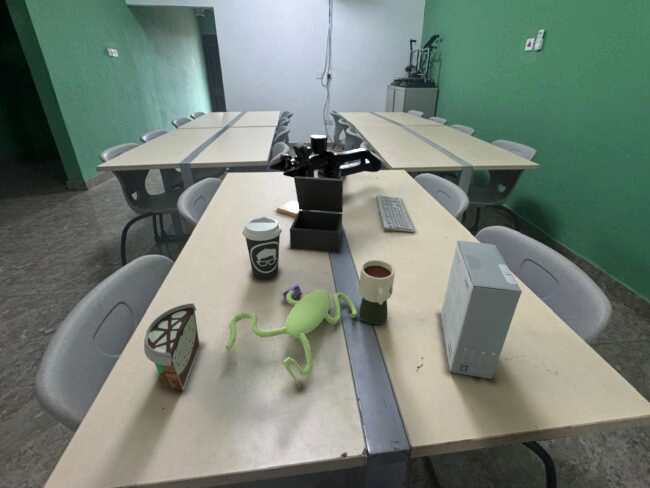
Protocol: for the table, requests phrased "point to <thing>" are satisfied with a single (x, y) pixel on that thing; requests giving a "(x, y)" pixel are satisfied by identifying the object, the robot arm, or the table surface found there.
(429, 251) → the table surface
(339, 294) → the figurine
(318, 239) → the open black box
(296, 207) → the toast
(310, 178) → the lid
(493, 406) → the table surface
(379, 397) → the table surface
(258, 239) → the coffee cup
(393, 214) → the keyboard
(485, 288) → the hard drive box
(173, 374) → the food container
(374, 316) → the character mug
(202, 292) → the table surface
